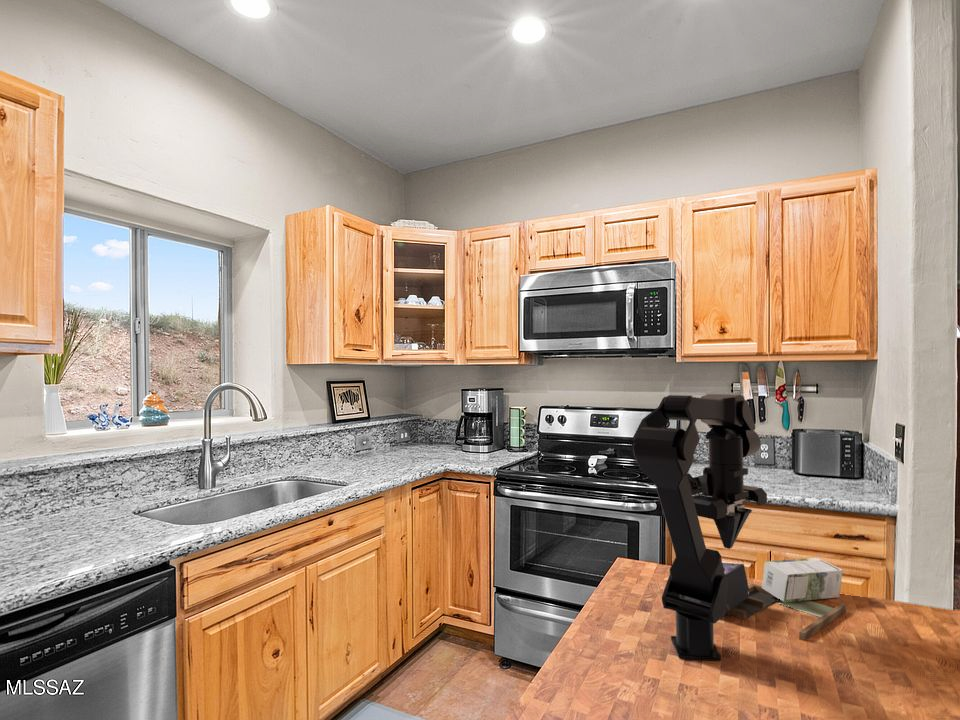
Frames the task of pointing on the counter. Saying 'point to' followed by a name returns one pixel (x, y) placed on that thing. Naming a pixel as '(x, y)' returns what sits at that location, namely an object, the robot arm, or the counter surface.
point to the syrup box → (802, 579)
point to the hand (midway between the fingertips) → (727, 547)
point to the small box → (732, 586)
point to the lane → (763, 599)
